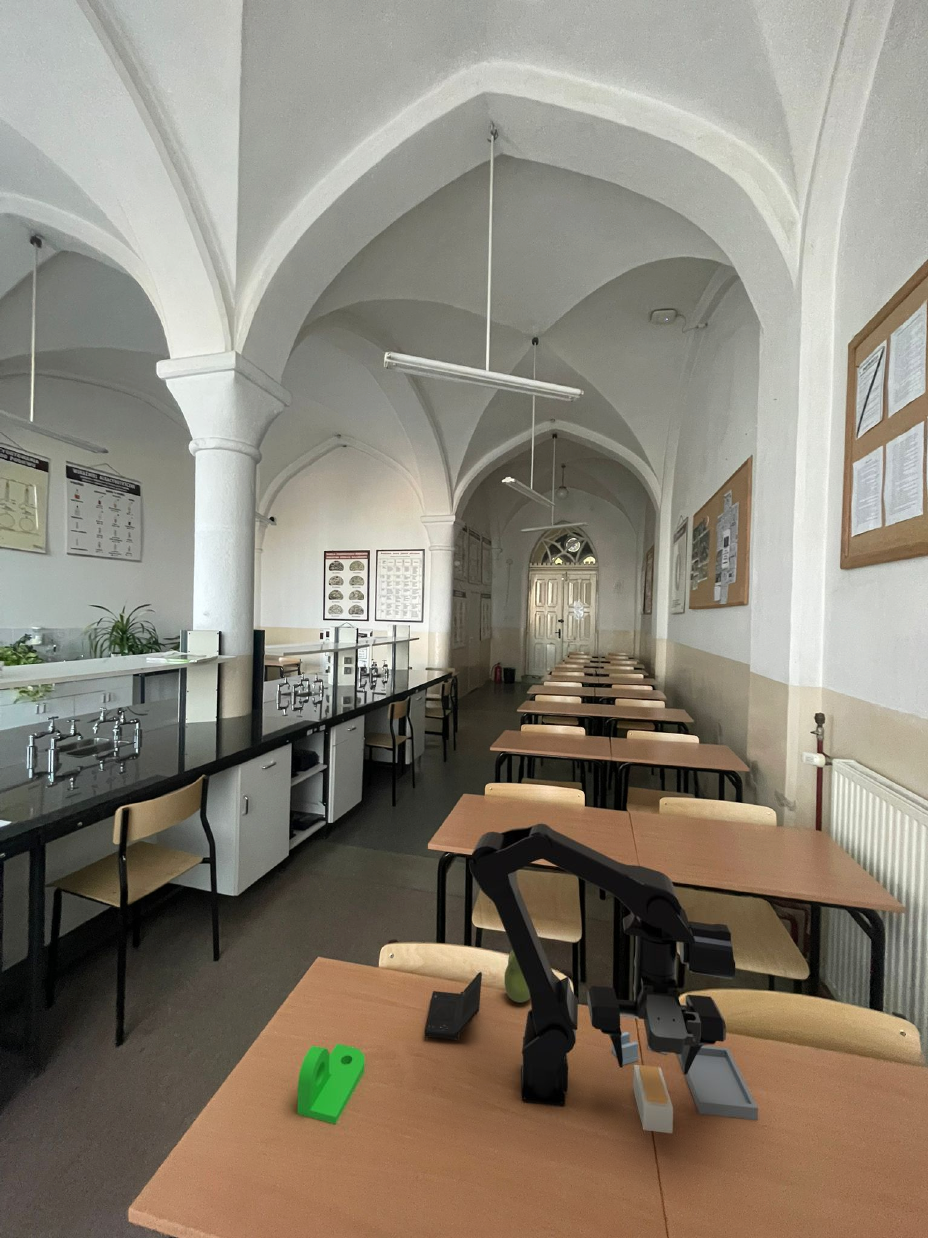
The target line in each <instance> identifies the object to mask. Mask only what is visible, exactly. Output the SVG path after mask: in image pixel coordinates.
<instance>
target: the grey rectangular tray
mask: <svg viewBox="0 0 928 1238" xmlns="http://www.w3.org/2000/svg"><path fill="white" fill-rule="evenodd" d="M676 1055H677V1057H678V1059H679V1062H680V1065H681V1066H682V1063H681V1054H676ZM684 1076H685V1079H686V1081H687V1083H688V1087H689V1090H690V1092H691V1096H692V1098H693V1100H694V1103H695V1106H696V1109H697V1112H698V1113H699V1114H701V1115H708V1116H717V1117H727V1118H735V1119H742V1120H744V1119H745V1120H750V1121H751V1120H753V1121H758V1116H759V1108H758V1106H757V1103H756V1101H755V1099H754V1098H753V1096H752V1093H751V1091H750V1089H749V1087H748V1085H747V1083H746V1080H745V1079H744V1077H743V1074H742V1073H741V1070H740V1069H739V1067H738V1064H737V1063H736V1060H735V1059H734V1057H733V1055H732V1052H731V1050H730V1049H729V1047H723V1046H713V1045H704V1046H702V1047H701V1049H700V1050H699V1051H698V1053H697V1055H696V1057H695V1059H694V1061H693V1063H692V1065H691V1067H690V1069H689V1071H688V1073H687V1075H685V1074H684Z"/></svg>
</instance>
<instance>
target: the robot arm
mask: <svg viewBox="0 0 928 1238" xmlns="http://www.w3.org/2000/svg"><path fill="white" fill-rule="evenodd" d="M470 855H471V856H470V858H469V862H468V866H469V871H470V873H471V875H472V877H473V879H474V880H475V882H476V884H477V885H478V887H479V888H480V890H481V892H483V894H484V895H485V896H486V897H488V899H490V900H491V901H492V903H493V904H494V907H495V909H496V912H497V914H498V917H499V918H500V919H499V920H500V921H501V923H502V926H503V928H504V931H505V934H506V936H507V939H508V942H509V944H510V947H511V950H512V949H513V952H514V954H515V957H516V959H517V962H518V964H519V967H520V969H521V972H522V974H523V977H524V979H525V982H526V984H527V987H528V989H529V993H530V998H529V1000H530V1006H531V1009H529V1010H528V1011H527V1014H526V1022H525V1029H524V1035H523V1037H522V1048H521V1053H522V1064H521V1065H520V1077H521V1079H520V1081H521V1082H520V1083H521V1085H520V1087H521V1088H520V1089H521V1090H520V1091H521V1096H520V1097H521V1099H520V1100H521V1101H522V1102H523V1103H526V1104H527V1103H528V1104H536V1105H537V1104H538V1105H547V1106H555V1107H556V1106H557V1107H565V1106H566V1095H565V1093H567V1092H568V1091H569V1090H568V1089H569V1087H568V1085H569V1083H568V1082H569V1062H568V1054H569V1053H570V1052H571V1051H572V1050H573V1049H574V1047H575V1045H576V1041H577V1040H576V1037H577V1030H578V1024H579V1023H578V1017H579V1016H578V1015H579V999H578V997H577V996H576V995H575V993H574V991H573V989H572V986H571V982H570V978H569V977H568V976H566V977H564V978H562V979H560V978H559V977H558V976H557V975H556V974H555V973H554V971H553V970H552V968H551V964H550V962H549V960H548V957H547V955H546V952H545V950H544V948H543V945H542V943H541V940H540V937H539V934H538V933H537V930H536V928H535V926H534V922H533V920H532V918H531V915H530V913H529V910H528V908H527V904H526V903H525V901H524V898H523V896H522V895H523V894H522V893H521V891H520V888H519V883H518V876H517V872H518V871H519V870H520V869H523V868H525V867H527V866H528V865H530V864H531V863H533V862H536V861H540V860H543V861H545V862H548V863H550V864H552V865H554V866H556V867H557V868H559V869H561V870H563V871H565V872H567V873H569V874H572V875H573V876H575V877H577V878H579V879H581V880H583V881H585V882H587V883H589V884H591V885H593V886H595V887H597V888H599V889H601V890H603V891H605V892H606V893H609V894H611V895H612V896H614V897H615V898H616V899H617V900H619V901H620V902H621V904H622V905H624V906H625V907H626V908H627V909H628V910H629V911H630V912H631V914H628V915H627V916H625V917H622V918H623V919H622V923H623V924H622V925H623V933H624V934H625V935H628V936H632V937H633V936H634V937H635V956H634V957H633V958H634V960H633V962H634V963H633V965H634V982H633V987H632V988H633V990H632V991H633V1000H631V999H630V1000H628V999H618V998H617V994H616V990H615V987H611V986H599V985H591V986H590V987H589V989H587V995H586V996H587V999H586V1001H587V1007H588V1012H589V1016H590V1017H589V1018H590V1022H591V1023H590V1024H591V1027H592V1028H594V1029H596V1030H600V1033H602V1034H604V1035H608V1036H609V1038H610V1040H611V1043H613V1045H614V1049H615V1053H616V1056H617V1057H616V1056H615V1057H616V1060H617V1063H618V1066H619V1068H621V1069H622V1068H623V1066H624V1065H623V1054H622V1043H621V1036H622V1033H623V1032H622V1030H621V1018H629V1019H637V1020H638V1019H639V1020H643V1024H644V1029H645V1035H646V1039H647V1046H648V1045H649V1047H650V1049H651V1050H650V1051H652V1050H653V1052H655V1053H659V1052H667V1053H669V1054H670V1053H671V1054H675V1055H677V1054H681V1063H682V1065H681V1070H682V1073H683V1075H684V1076H685V1075H687V1073H688V1071H689V1069H690V1067H691V1065H692V1063H693V1061H694V1059H695V1057H696V1055H697V1053H698V1051H699V1050H700V1049H701V1047H702V1046H713V1045H715V1044H716V1042H721V1043H722V1042H723V1043H724V1041H725V1040H726V1039H727V1027H726V1026H727V1025H726V1021H725V1019H724V1017H723V1015H722V1013H721V1011H720V1009H719V1007H718V1006H717V1003H716V1001H715V1000H714V999H713V998H712V997H711V996H707V995H698V994H697V995H696V994H687V995H685V999H684V1000H685V1004H683V1003H682V1004H681V1002H680V997H679V990H678V987H679V986H678V983H677V980H676V979H677V975H676V974H677V945H678V947H679V949H678V950H679V958H680V962H681V964H686V965H687V968H686V969H687V971H689V973H692V974H698V975H704V976H710V977H716V978H723V979H728V980H729V979H730V980H734V979H735V975H736V961H735V959H734V958H735V957H734V949H733V944H732V933H731V930H730V928H729V926H728V924H723V923H722V924H721V923H714V924H713V923H707V922H705V923H704V922H697V921H691V920H689V919H688V915H687V913H686V910H685V909H684V908H683V906H682V905H681V903H680V901H679V898H678V897H679V896H678V894H677V892H676V888H675V886H674V884H673V882H672V879H671V878H670V877H669V876H668V875H666V874H665V873H664V872H662V871H658V870H656V869H652V868H649V867H645V866H641V865H636V864H635V865H632V864H625V863H622V862H619V861H617V860H616V859H613V858H612V857H609V856H606V855H605V854H603V853H601V852H600V851H597V850H594V849H593V848H591V847H589V846H586V845H585V844H583V843H581V842H578V841H576V840H574V839H572V838H570V837H568V836H566V835H564V834H562V833H561V832H558V831H556V830H554V829H553V828H551V826H550V825H547V824H546V823H537V824H535V825H530V826H528V827H520V828H512V829H508V830H506V831H502V832H498V831H488V832H486V833H484V834H482V835H481V836H480V838H478V841H477V843H476V845H475V847H474V849H473V851H472V853H471V854H470ZM681 1063H680V1064H681Z"/></svg>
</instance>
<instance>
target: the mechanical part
mask: <svg viewBox="0 0 928 1238" xmlns="http://www.w3.org/2000/svg"><path fill="white" fill-rule="evenodd" d="M365 1060H366V1059H365V1055H364V1053H363V1052H362V1050H360V1049H358V1048H356V1047H352V1046H350V1045H349V1046H348V1045H345V1044H340V1043H336V1045H335V1046H334V1047H333V1048H332V1051H331V1052H330V1051H329V1049H328V1048H326V1047H325V1048H324V1047H321V1046H317V1045H313V1046H311V1047H310V1048H309V1049H308V1051H307V1052H306V1054H305V1056H304V1058H303V1060H302V1062H301V1063H302V1064H301V1067H300V1071H299V1075H298V1081H297V1084H298V1085H297V1115H301V1116H304V1117H308V1118H311V1119H316V1120H318V1121H323V1122H325V1123H330V1124H333V1125H336V1124H337V1123H338V1121H339V1119H340V1117H341V1116H342V1114H343V1113H344V1112H343V1111H344V1110H345V1108H346V1106H347V1104H348V1103H349V1101H350V1099H351V1097H352V1095H353V1093H354V1092H355V1091H356V1088H357V1086H358V1085H359V1083H360V1080H361V1079H362V1078H363V1075H364V1073H365V1070H366V1069H365V1068H366V1067H365V1066H366V1065H365V1064H366V1061H365Z"/></svg>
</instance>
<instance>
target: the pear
mask: <svg viewBox="0 0 928 1238" xmlns="http://www.w3.org/2000/svg"><path fill="white" fill-rule="evenodd" d="M507 958H508V959H507V966H506V969H505V971H504V977H503V978H504V989H505V992H506V994H507V996H508V997H509V999H510V1000H512V1001H513V1002H515V1003H525V1002H527V1001H529V1000H530V993H529V989H528V987H527V984H526V982H525V979H524V977H523V974H522V972H521V969H520V967H519V964H518V962H517V959H516V957H515V954H514V952H513V949H512V948H511V950H510V952H509V955H508V957H507Z"/></svg>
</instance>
